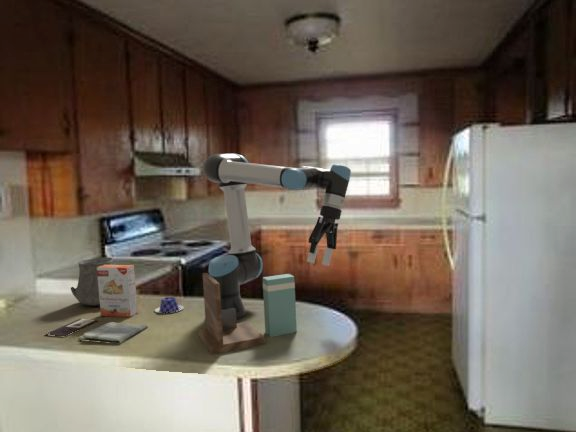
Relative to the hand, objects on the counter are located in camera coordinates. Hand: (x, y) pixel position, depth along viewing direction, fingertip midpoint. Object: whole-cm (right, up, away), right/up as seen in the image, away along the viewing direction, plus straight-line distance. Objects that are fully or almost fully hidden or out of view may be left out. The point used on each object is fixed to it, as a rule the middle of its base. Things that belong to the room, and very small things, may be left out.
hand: (318, 264), depth 170 cm
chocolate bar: (-94, -27, +11) cm, 98 cm away
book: (-13, -24, -4) cm, 28 cm away
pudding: (-61, -23, +29) cm, 72 cm away
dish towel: (-75, -27, +2) cm, 79 cm away
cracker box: (-81, -24, +25) cm, 88 cm away
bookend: (-34, -22, -5) cm, 41 cm away
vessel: (-97, -23, +44) cm, 109 cm away
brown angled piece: (-30, -25, -9) cm, 41 cm away
